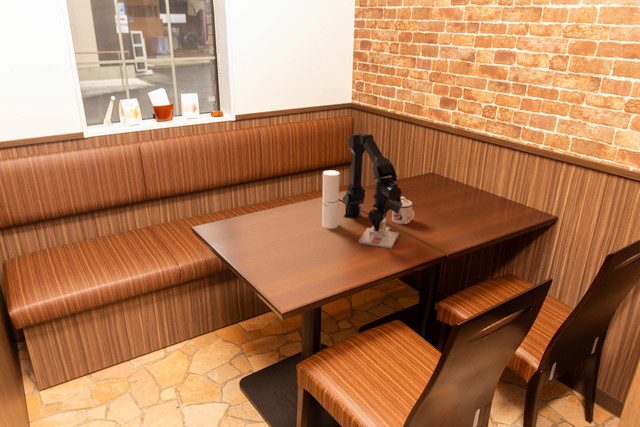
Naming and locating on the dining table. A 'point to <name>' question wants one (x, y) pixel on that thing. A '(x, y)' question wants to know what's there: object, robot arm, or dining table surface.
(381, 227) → the post
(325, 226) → the cylindrical container
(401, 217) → the teacup with lid
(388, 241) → the sleeve stand
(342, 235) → the dining table surface
